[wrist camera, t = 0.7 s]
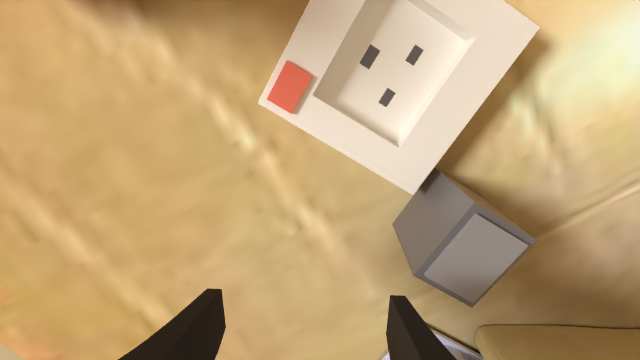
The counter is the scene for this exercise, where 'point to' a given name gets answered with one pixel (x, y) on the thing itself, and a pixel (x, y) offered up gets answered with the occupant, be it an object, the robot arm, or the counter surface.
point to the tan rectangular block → (557, 343)
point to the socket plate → (394, 76)
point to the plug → (458, 238)
